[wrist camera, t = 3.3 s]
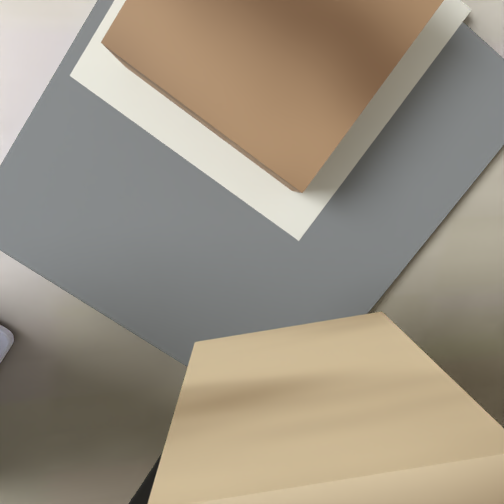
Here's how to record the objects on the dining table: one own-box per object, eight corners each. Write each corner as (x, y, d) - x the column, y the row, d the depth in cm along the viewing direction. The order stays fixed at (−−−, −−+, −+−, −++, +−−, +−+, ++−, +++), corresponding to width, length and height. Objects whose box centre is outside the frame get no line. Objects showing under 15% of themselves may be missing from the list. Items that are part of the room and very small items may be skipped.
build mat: (277, 418, 18) (278, 423, 17) (-30, 226, 15) (-37, 227, 15) (544, 87, 15) (552, 84, 15) (225, -204, 13) (225, -217, 12)
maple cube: (397, 471, 11) (530, 725, 6) (227, 499, 11) (215, 772, 6) (381, 311, 10) (526, 450, 5) (194, 341, 10) (146, 510, 5)
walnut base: (291, 190, 15) (302, 193, 13) (124, 66, 14) (100, 42, 11) (416, 18, 14) (455, -16, 12) (247, -132, 13) (249, -206, 10)
